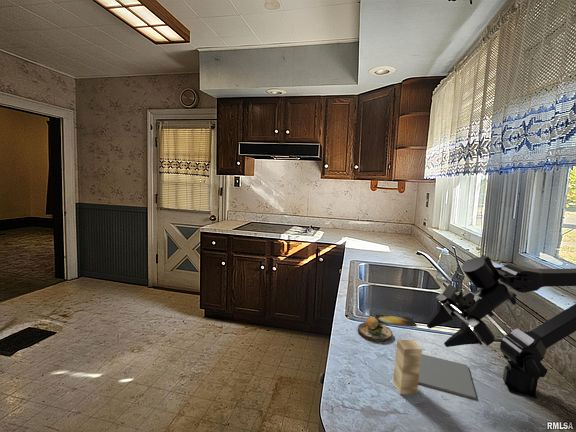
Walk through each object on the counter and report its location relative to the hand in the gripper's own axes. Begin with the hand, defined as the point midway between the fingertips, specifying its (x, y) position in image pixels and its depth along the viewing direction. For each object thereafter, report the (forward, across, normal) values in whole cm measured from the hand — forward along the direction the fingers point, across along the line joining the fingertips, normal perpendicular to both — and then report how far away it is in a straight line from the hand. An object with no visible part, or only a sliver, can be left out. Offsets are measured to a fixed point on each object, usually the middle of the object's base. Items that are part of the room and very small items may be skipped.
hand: (436, 335), depth 82 cm
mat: (+6, -6, +14) cm, 16 cm away
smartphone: (+7, -37, +14) cm, 41 cm away
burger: (+15, -27, +7) cm, 32 cm away
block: (+15, +1, +6) cm, 16 cm away
